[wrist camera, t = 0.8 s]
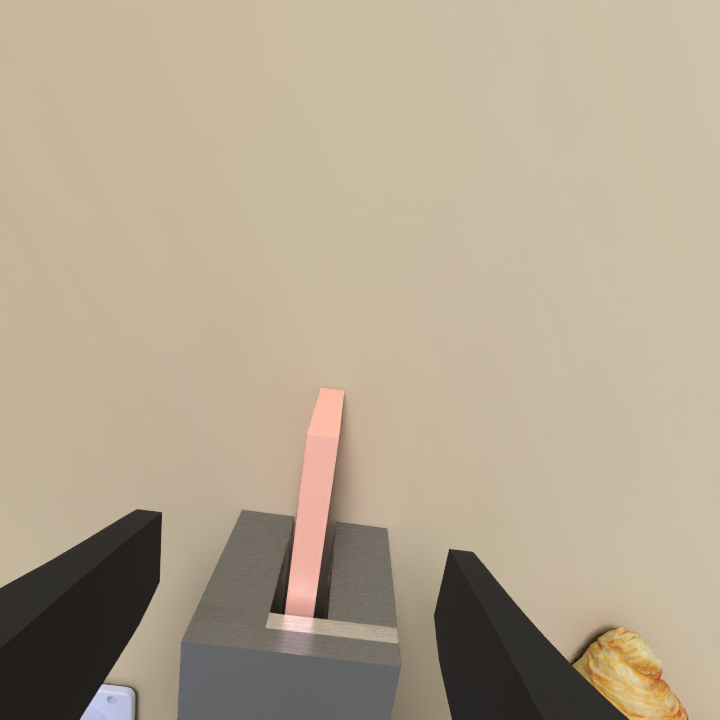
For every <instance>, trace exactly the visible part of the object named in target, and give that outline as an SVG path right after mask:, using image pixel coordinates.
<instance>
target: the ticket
mask: <svg viewBox="0 0 720 720" xmlns="http://www.w3.org/2000/svg"><path fill="white" fill-rule="evenodd" d="M343 399H344V391H342V390H335V389H328V388H321V389H320V393H319V396H318V399H317V403H316V406H315V410H314V413H313V416H312V420H311V423H310V427H309V430H308V433H307V440H306V448H305V456H304V464H303V472H302V480H301V488H300V496H299V504H298V512H297V521H296V529H295V537H294V545H293V553H292V561H291V569H290V577H289V585H288V593H287V601H286V609H285V615H293V616H301V617H309V618H313V615H314V608H315V601H316V594H317V587H318V580H319V573H320V566H321V559H322V552H323V545H324V538H325V531H326V525H327V518H328V511H329V504H330V497H331V490H332V483H333V476H334V469H335V462H336V455H337V448H338V441H339V433H340V424H341V416H342V407H343Z"/></svg>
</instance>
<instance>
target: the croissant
mask: <svg viewBox="0 0 720 720" xmlns="http://www.w3.org/2000/svg"><path fill="white" fill-rule="evenodd" d="M572 666H573V667H574V668H575V669H576V670H577V671H578V672H579V673H580V674H581V675H582V676H583V677H584V678H585V679H586V680H587V681H589V682H590V683H591V684H592V685H593V686H594V687H595V688H596V689H597V690H598V691H599V692H600V693H601V694H602V695H603V696H604V697H606V698H607V699H608V700H609V701H610V702H611V703H612V704H613V705H614V706H615V707H616V708H617V709H618V710H620V711H621V712H622V713H623V714H624V715H625V716H626V717H628V718H629V719H630V720H688V715H687V713H686V710H685V708H684V707H683V705H682V704H681V702H680V701H679V699H678V698H677V697H676V696H675V694H674V693H673V692H672V691H671V690H670V688H669V686H668V685H667V683H666V682H665V681H664V680H662V679H660V677H661V675H662V669H661V660H659V659H658V658H656V656H655V655H654V654H653V652H652V651H651V649H650V648H649V646H648V645H647V644H646V642H645V641H644V639H643V638H642V637H641V636H640V635H639V634H638V633H637V632H632V631H629V630H628V629H626V628H625V627H620V628H617V629H613V630H609V631H608V632H606V633H605V634H603V635H602V636H600V637H599V638H598V641H596V642H594V643H592V644H590V647H589V648H588V650H587V651H586V652H585V653H584V655H583V656H582V657H581V658H580V659H579V660H578V661H577V662H576V663H574V664H573V665H572Z"/></svg>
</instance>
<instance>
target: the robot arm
mask: <svg viewBox="0 0 720 720" xmlns="http://www.w3.org/2000/svg"><path fill="white" fill-rule="evenodd" d="M161 526H162V512H155V511H147V510H139V509H137V510H135V511H133V512H131V513H130V514H128V515H126V516H124V517H123V518H121V519H119V520H118V521H116V522H114V523H113V524H111V525H109V526H108V527H106V528H104V529H103V530H101V531H100V532H98V533H96V534H95V535H93V536H91V537H90V538H88V539H86V540H85V541H83V542H81V543H80V544H78V545H76V546H75V547H73V548H71V549H69V550H68V551H66V552H64V553H63V554H61V555H59V556H58V557H56V558H54V559H53V560H51V561H49V562H47V563H45V564H44V565H42V566H40V567H38V568H36V569H34V570H33V571H31V572H29V573H27V574H25V575H23V576H22V577H20V578H18V579H16V580H14V581H12V582H11V583H9V584H7V585H5V586H3V587H2V588H0V720H135V692H134V691H133V689H131V688H129V687H124V686H116V685H107V684H103V682H104V680H105V679H106V677H107V676H108V674H109V673H110V671H111V669H112V668H113V666H114V665H115V663H116V661H117V660H118V658H119V657H120V655H121V653H122V652H123V650H124V648H125V647H126V645H127V644H128V642H129V640H130V639H131V637H132V636H133V634H134V632H135V631H136V629H137V627H138V626H139V624H140V622H141V620H142V618H143V616H144V614H145V612H146V610H147V608H148V606H149V604H150V601H151V599H152V597H153V595H154V593H155V591H156V589H157V586H158V584H159V582H160V556H161ZM434 619H435V629H436V639H437V647H438V655H439V662H440V667H441V672H442V676H443V681H444V685H445V690H446V694H447V699H448V703H449V708H450V712H451V717H452V720H630V719H629V718H628V717H626V716H625V715H624V714H623V713H622V712H621V711H620V710H618V709H617V708H616V707H615V706H614V705H613V704H612V703H611V702H610V701H609V700H608V699H607V698H606V697H604V696H603V695H602V694H601V693H600V692H599V691H598V690H597V689H596V688H595V687H594V686H593V685H592V684H591V683H590V682H589V681H587V680H586V679H585V678H584V677H583V676H582V675H581V674H580V673H579V672H578V671H577V670H576V669H575V668H574V667H573V666H572V665H571V664H570V663H569V662H568V661H567V660H566V659H565V657H564V656H563V655H562V654H561V653H560V652H559V651H558V650H557V649H556V648H555V647H554V646H553V645H552V644H551V643H550V642H549V641H548V640H547V638H546V637H545V636H544V635H543V634H542V633H541V632H540V631H539V630H538V629H537V627H536V626H535V625H534V624H533V623H532V622H531V621H530V620H529V618H528V617H527V616H526V615H525V614H524V613H523V611H522V610H521V609H520V608H519V607H518V606H517V604H516V603H515V602H514V601H513V600H512V598H511V597H510V596H509V595H508V594H507V592H506V591H505V590H504V589H503V588H502V586H501V585H500V584H499V583H498V582H497V580H496V579H495V578H494V577H493V575H492V574H491V573H490V572H489V570H488V569H487V568H486V567H485V566H484V564H483V563H482V562H481V561H480V560H479V558H478V557H477V556H476V555H475V554H474V552H469V551H461V550H453V549H449V553H448V557H447V561H446V566H445V570H444V574H443V579H442V583H441V587H440V592H439V596H438V601H437V605H436V609H435V614H434Z"/></svg>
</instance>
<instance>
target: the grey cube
mask: <svg viewBox="0 0 720 720" xmlns="http://www.w3.org/2000/svg"><path fill="white" fill-rule="evenodd" d="M293 519H294V517H291V516H284V515H276V514H268V513H260V512H252V511H244V510H242V512H241V514H240V516H239V518H238V520H237V522H236V525H235V527H234V529H233V531H232V533H231V535H230V538H229V540H228V542H227V544H226V546H225V548H224V551H223V553H222V555H221V557H220V559H219V561H218V564H217V566H216V568H215V570H214V572H213V574H212V577H211V579H210V581H209V583H208V585H207V587H206V590H205V592H204V594H203V596H202V598H201V600H200V603H199V605H198V607H197V609H196V611H195V613H194V615H193V618H192V620H191V622H190V624H189V626H188V628H187V631H186V633H185V635H184V637H183V639H182V644H181V663H180V682H179V701H178V720H390V715H391V710H392V706H393V701H394V696H395V691H396V687H397V682H398V677H399V673H400V668H401V664H400V654H399V643H398V633H397V623H396V613H395V603H394V593H393V582H392V572H391V562H390V552H389V542H388V531H387V529H386V528H378V527H370V526H362V525H354V524H346V523H338V522H336V528H335V535H334V542H333V548H332V555H331V562H330V568H329V575H328V582H327V588H326V595H325V602H324V608H323V615H322V619H318V618H309V617H301V616H293V615H284V614H282V609H283V601H284V593H285V585H286V576H287V568H288V560H289V552H290V543H291V535H292V527H293Z"/></svg>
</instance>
